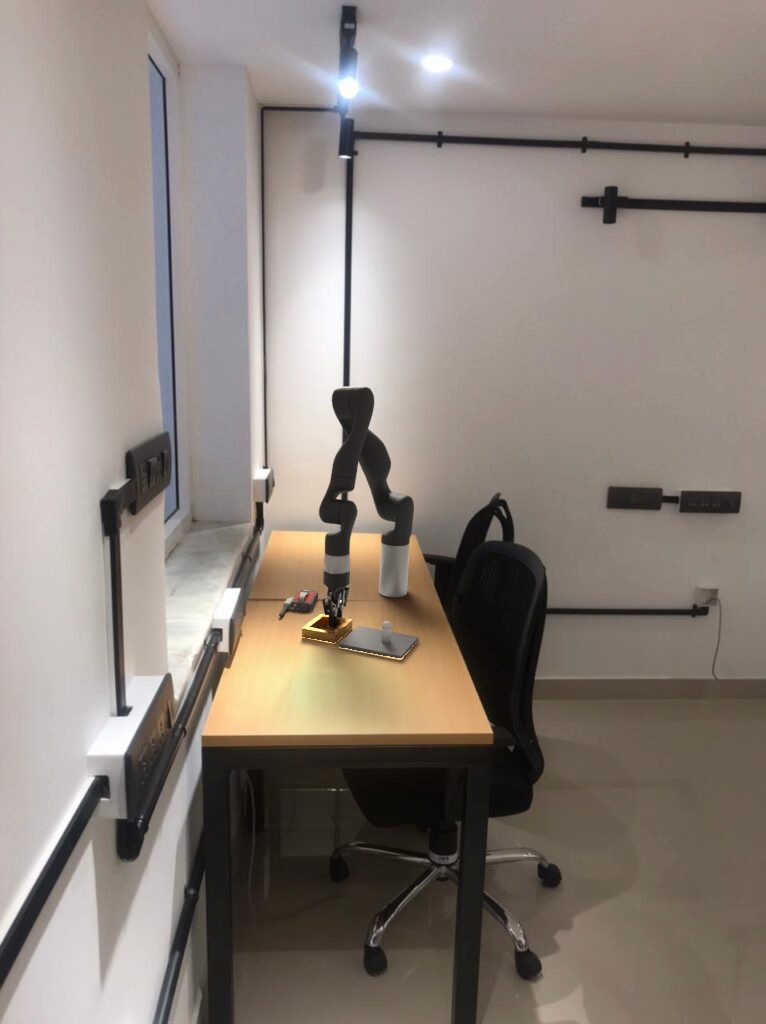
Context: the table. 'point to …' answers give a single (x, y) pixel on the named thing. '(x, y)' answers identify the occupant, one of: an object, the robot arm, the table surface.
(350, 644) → the plate
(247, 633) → the table surface
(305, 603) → the walkie-talkie
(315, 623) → the link ring
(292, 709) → the table surface
